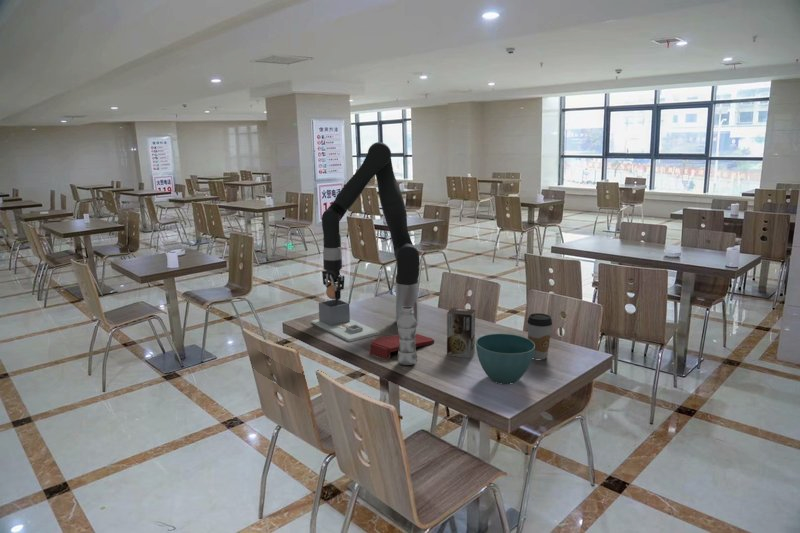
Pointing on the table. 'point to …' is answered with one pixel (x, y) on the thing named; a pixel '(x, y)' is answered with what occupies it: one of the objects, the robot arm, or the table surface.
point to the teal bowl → (505, 356)
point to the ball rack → (341, 321)
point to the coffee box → (461, 332)
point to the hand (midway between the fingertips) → (333, 297)
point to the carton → (394, 345)
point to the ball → (331, 292)
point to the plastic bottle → (407, 337)
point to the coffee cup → (539, 333)
